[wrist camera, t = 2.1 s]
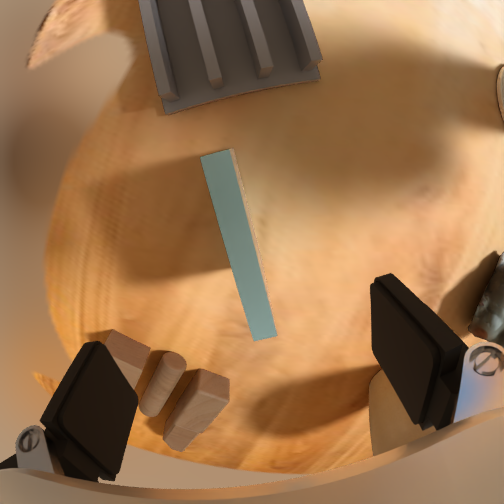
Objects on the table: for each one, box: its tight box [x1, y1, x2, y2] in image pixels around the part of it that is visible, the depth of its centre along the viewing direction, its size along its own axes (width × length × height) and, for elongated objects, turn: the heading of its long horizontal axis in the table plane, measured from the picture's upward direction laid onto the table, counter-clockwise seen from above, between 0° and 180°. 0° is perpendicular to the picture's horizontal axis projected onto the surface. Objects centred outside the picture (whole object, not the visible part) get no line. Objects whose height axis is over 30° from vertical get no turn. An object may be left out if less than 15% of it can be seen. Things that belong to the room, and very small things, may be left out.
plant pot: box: [369, 369, 436, 456], centre depth 32 cm, size 15×15×16 cm
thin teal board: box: [200, 148, 277, 341], centre depth 23 cm, size 2×12×13 cm, turn 14°
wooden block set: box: [104, 329, 229, 452], centre depth 35 cm, size 17×6×18 cm
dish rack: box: [138, 0, 323, 115], centre depth 19 cm, size 15×18×5 cm
